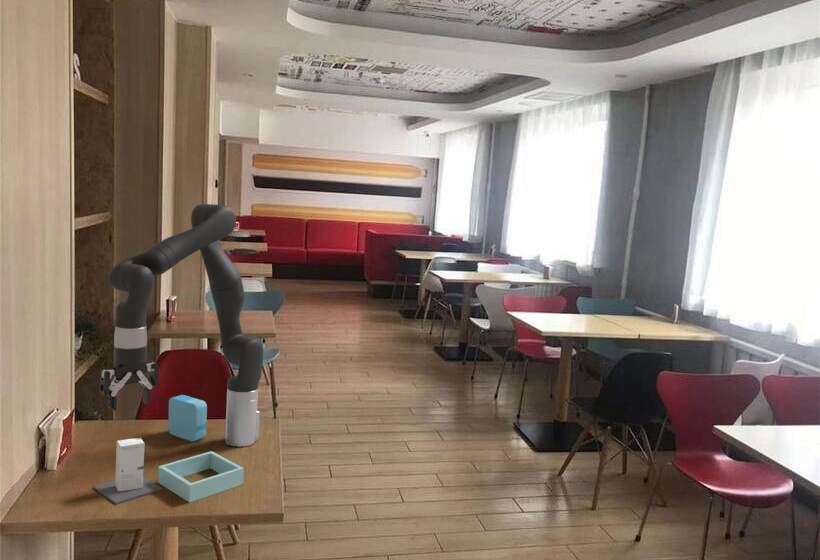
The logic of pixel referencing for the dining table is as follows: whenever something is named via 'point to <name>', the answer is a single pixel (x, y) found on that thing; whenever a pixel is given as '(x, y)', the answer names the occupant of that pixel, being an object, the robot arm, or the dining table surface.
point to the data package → (187, 417)
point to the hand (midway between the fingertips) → (129, 406)
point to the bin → (197, 490)
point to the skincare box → (129, 464)
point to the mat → (123, 496)
